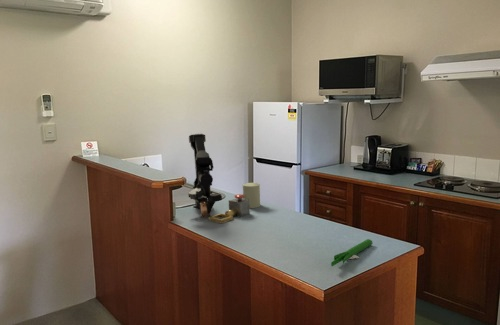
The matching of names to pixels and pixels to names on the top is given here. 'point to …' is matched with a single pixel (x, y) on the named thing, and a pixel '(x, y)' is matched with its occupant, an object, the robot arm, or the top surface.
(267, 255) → the top surface
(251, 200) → the can
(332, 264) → the green onion
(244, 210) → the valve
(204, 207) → the stub
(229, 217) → the socket
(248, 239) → the top surface
